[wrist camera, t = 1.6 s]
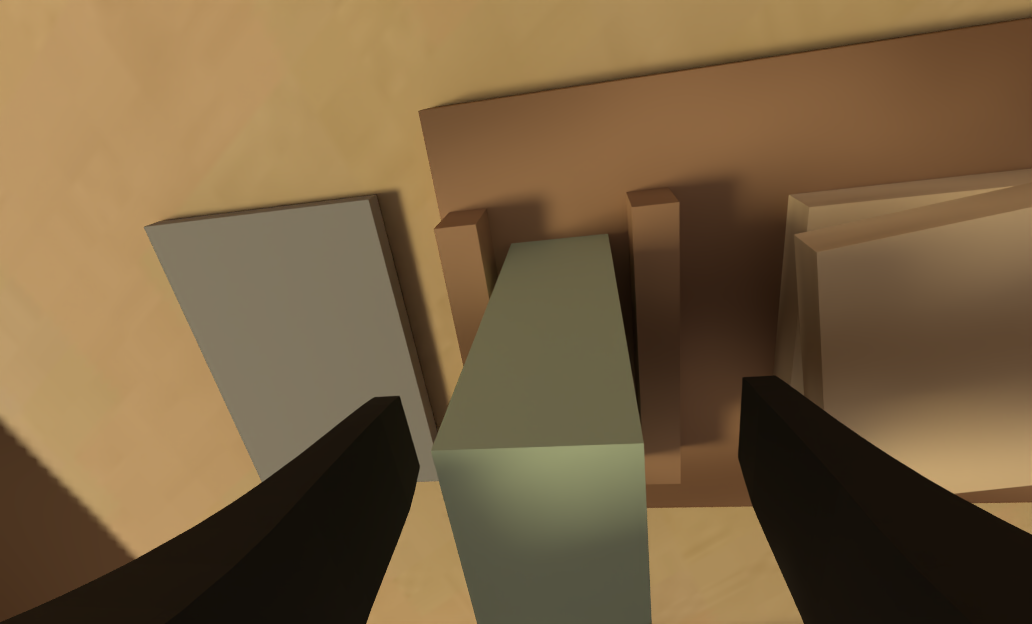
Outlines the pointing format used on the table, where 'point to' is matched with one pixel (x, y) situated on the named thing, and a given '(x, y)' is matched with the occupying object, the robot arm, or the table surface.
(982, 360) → the upper offcut
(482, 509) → the sage green box
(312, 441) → the mat
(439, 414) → the table surface
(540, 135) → the rack
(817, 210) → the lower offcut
